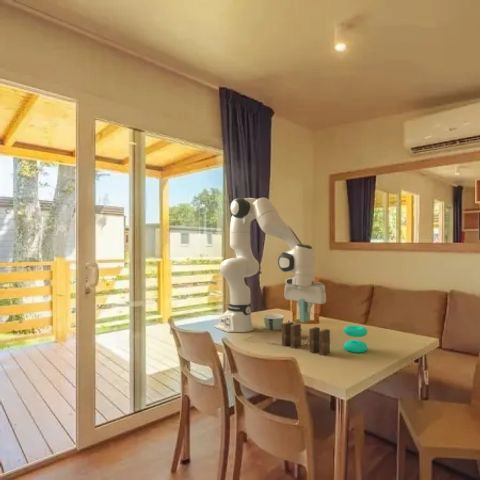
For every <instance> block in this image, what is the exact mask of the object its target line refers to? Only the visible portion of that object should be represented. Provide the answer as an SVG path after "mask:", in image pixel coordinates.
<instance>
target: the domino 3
mask: <svg viewBox="0 0 480 480" xmlns="http://www.w3.org/2000/svg"><path fill="white" fill-rule="evenodd" d="M306 308H308V303H307V302H304V299H300V311H299V323H307V322H310V321H311V312H310V313H307V312H306Z"/></svg>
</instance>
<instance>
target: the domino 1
mask: <svg viewBox="0 0 480 480" xmlns="http://www.w3.org/2000/svg"><path fill="white" fill-rule="evenodd" d="M291 322H292V321H289V322H287V321H286V322H283V324H282V329H281V346H283V347H287V345H288V346H291V325H292V323H291Z"/></svg>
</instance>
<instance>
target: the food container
mask: <svg viewBox="0 0 480 480" xmlns="http://www.w3.org/2000/svg"><path fill="white" fill-rule="evenodd" d="M262 318H263V320H264V321H263V322H264V329H266V330H271V331H276V330H277V331H278V330H282V324H283V323H284V320H285V319H284V318H285V315H283V314H278V313H268V314H267V313H266V314H263V315H262Z"/></svg>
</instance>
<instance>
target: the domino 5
mask: <svg viewBox="0 0 480 480" xmlns="http://www.w3.org/2000/svg"><path fill="white" fill-rule="evenodd" d="M330 331H331V329H329V328H328V329H327V328H325V329H321V330H320V331H319V349H320V351H319V355H320V356H326V355H329V354H330V353H331V349H330V348H331V343H330V342H331V337H330V336H331V334H330V333H331V332H330Z"/></svg>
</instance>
